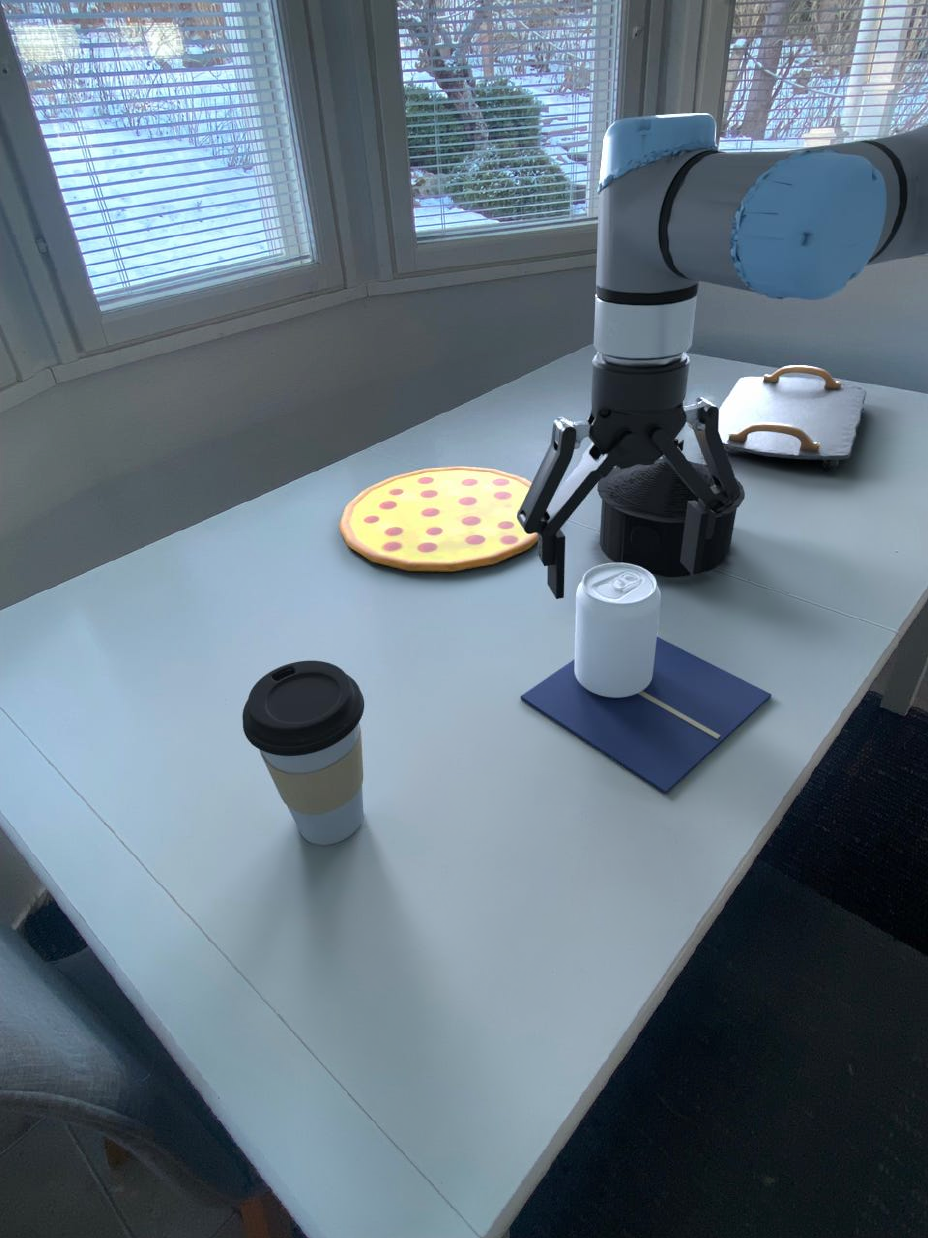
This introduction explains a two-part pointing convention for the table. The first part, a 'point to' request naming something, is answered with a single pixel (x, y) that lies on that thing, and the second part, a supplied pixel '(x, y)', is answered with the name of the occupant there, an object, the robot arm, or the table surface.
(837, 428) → the serving tray
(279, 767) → the coffee cup
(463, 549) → the pizza
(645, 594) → the beverage can
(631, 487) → the black round tub
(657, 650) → the napkin
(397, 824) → the table surface
